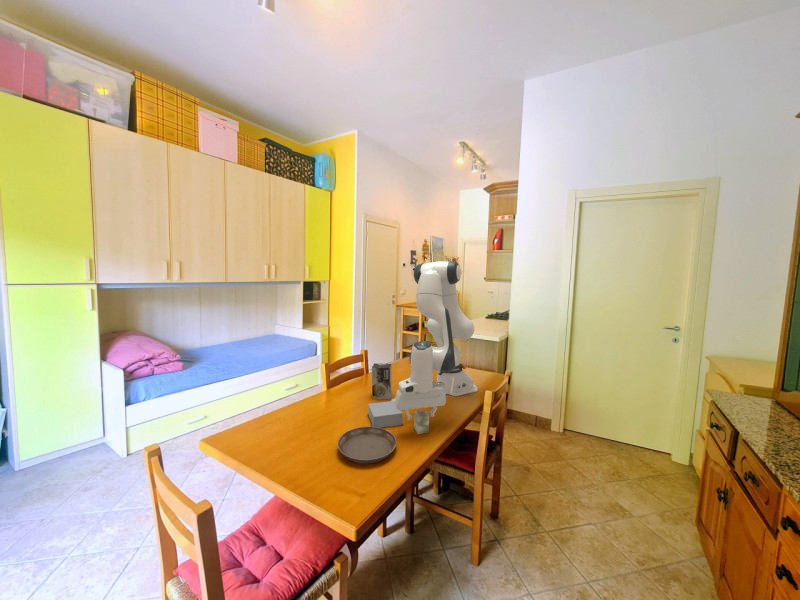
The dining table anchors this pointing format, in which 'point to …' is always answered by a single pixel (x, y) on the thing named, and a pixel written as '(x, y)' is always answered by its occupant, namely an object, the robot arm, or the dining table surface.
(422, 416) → the sage block
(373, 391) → the coffee box
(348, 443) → the plant saucer
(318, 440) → the dining table surface
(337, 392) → the dining table surface
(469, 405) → the dining table surface
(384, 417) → the plinth
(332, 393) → the dining table surface
